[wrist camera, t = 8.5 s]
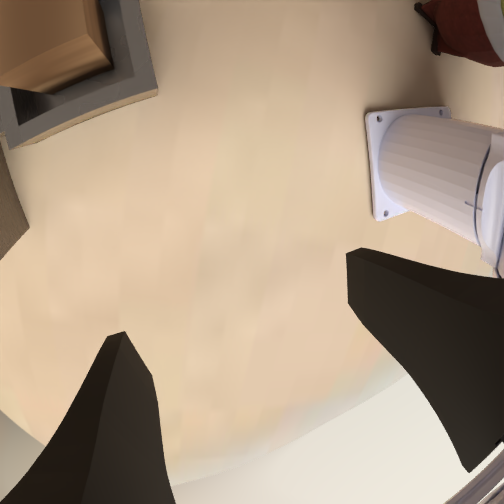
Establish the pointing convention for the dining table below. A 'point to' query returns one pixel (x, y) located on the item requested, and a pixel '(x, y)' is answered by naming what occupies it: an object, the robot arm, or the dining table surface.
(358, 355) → the dining table surface
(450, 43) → the mate gourd
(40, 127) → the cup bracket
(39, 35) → the brown rectangular block
